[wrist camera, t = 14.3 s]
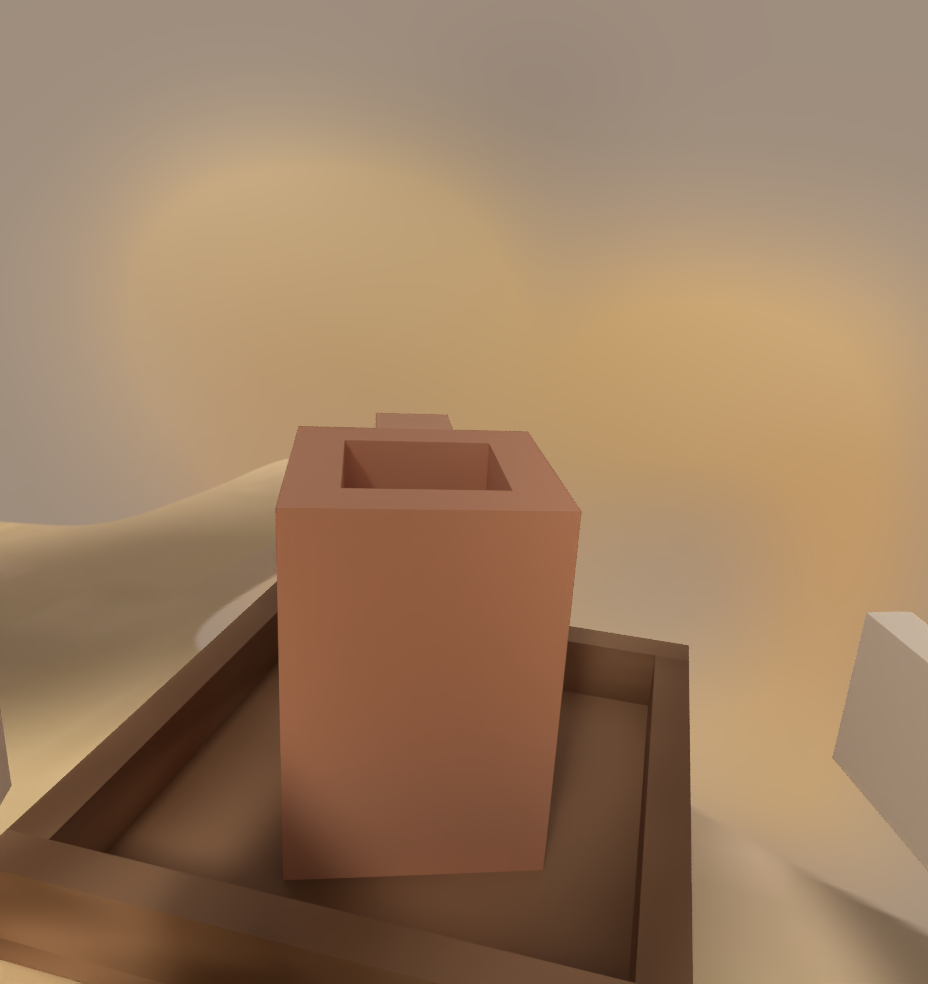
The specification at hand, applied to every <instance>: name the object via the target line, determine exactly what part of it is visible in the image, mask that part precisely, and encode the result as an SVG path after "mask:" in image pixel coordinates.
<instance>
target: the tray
mask: <svg viewBox="0 0 928 984" xmlns="http://www.w3.org/2000/svg"><path fill="white" fill-rule="evenodd" d="M0 959H1V960H4V961H8V962H11V963H15V964H18V965H22V966H25V967H29V968H32V969H36V970H39V971H43V972H47V973H50V974H54V975H57V976H61V977H64V978H68V979H71V980H75V981H78V982H82V983H86V984H693V961H692V882H691V803H690V724H689V647H688V645H682V644H676V643H670V642H664V641H657V640H651V639H645V638H639V637H633V636H626V635H620V634H614V633H608V632H601V631H595V630H589V629H583V628H577V627H570V626H569V633H568V643H567V652H566V662H565V671H564V680H563V690H562V699H561V709H560V718H559V727H558V737H557V746H556V756H555V765H554V774H553V784H552V793H551V803H550V812H549V821H548V831H547V840H546V849H545V859H544V868H543V870H536V871H510V872H485V873H459V874H434V875H409V876H383V877H358V878H332V879H307V880H283V856H282V806H281V756H280V706H279V656H278V606H277V582H276V583H275V584H274V585H273V586H271V587H270V589H268V590H267V591H266V592H265V593H264V594H263V595H262V596H261V597H259V598H258V599H257V600H256V601H255V602H254V603H253V604H252V605H251V606H250V607H249V608H248V609H246V610H245V611H244V612H243V613H242V614H241V615H240V616H239V617H238V618H237V619H236V620H234V621H233V622H232V623H231V624H230V625H229V626H228V627H227V628H226V629H225V630H224V631H222V632H221V633H220V634H219V635H218V636H217V637H216V638H215V639H214V640H213V641H212V642H210V643H209V644H208V645H207V646H206V647H205V648H204V649H203V650H202V651H201V652H200V653H198V654H197V655H196V656H195V657H194V658H193V659H192V660H191V661H190V662H189V663H188V664H187V665H185V666H184V667H183V668H182V669H181V670H180V671H179V672H178V673H177V674H176V675H175V676H173V677H172V678H171V679H170V680H169V681H168V682H167V683H166V684H165V685H164V686H163V687H161V688H160V689H159V690H158V691H157V692H156V693H155V694H154V695H153V696H152V697H151V698H149V699H148V700H147V701H146V702H145V703H144V704H143V705H142V706H141V707H140V708H139V709H138V710H136V711H135V712H134V713H133V714H132V715H131V716H130V717H129V718H128V719H127V720H126V721H124V722H123V723H122V724H121V725H120V726H119V727H118V728H117V729H116V730H115V731H114V732H112V733H111V734H110V735H109V736H108V737H107V738H106V739H105V740H104V741H103V742H102V743H101V744H99V745H98V746H97V747H96V748H95V749H94V750H93V751H92V752H91V753H90V754H89V755H87V756H86V757H85V758H84V759H83V760H82V761H81V762H80V763H79V764H78V765H77V766H75V767H74V768H73V769H72V770H71V771H70V772H69V773H68V774H67V775H66V776H65V777H63V778H62V779H61V780H60V781H59V782H58V783H57V784H56V785H55V786H54V787H53V788H52V789H50V790H49V791H48V792H47V793H46V794H45V795H44V796H43V797H42V798H41V799H40V800H38V801H37V802H36V803H35V804H34V805H33V806H32V807H31V808H30V809H29V810H28V811H26V812H25V813H24V814H23V815H22V816H21V817H20V818H19V819H18V820H17V821H16V822H15V823H13V824H12V825H11V826H10V827H9V828H8V829H7V830H6V831H5V832H4V833H3V834H1V835H0Z"/></svg>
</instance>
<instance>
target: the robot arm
mask: <svg viewBox="0 0 928 984" xmlns="http://www.w3.org/2000/svg"><path fill="white" fill-rule="evenodd" d="M833 759H834V760H835V761H836V763H837V764H838V765H839V766H840V767H841V769H842V770H843V771H844V772H845V773H846V774H847V776H848V777H849V778H850V779H851V780H852V781H853V783H854V784H855V785H856V786H857V788H858V789H859V790H860V791H861V792H862V793H863V795H864V796H865V797H866V798H867V799H868V801H869V802H870V803H871V804H872V805H873V806H874V807H875V809H876V810H877V811H878V812H879V814H880V815H881V816H882V817H883V818H884V819H885V820H886V822H887V823H888V824H889V825H890V826H891V828H892V829H893V830H894V831H895V833H896V834H897V835H898V836H899V837H900V838H901V840H902V841H903V842H904V843H905V844H906V846H907V847H908V848H909V849H910V850H911V851H912V852H913V854H914V855H915V856H916V857H917V858H918V860H919V861H920V862H921V863H922V864H923V866H924V867H925V868H926V869H927V870H928V624H926V623H925V622H924V621H922V620H921V619H920V618H918V617H917V616H916V615H914V614H913V613H912V612H867V613H866V617H865V620H864V625H863V629H862V633H861V638H860V642H859V646H858V650H857V655H856V659H855V664H854V668H853V672H852V677H851V681H850V685H849V689H848V693H847V698H846V702H845V706H844V711H843V715H842V719H841V724H840V728H839V732H838V736H837V741H836V745H835V750H834V754H833ZM10 787H11V780H10V773H9V766H8V759H7V752H6V745H5V738H4V732H3V725H2V718H1V711H0V805H1V803H2V801H3V799H4V798H5V796H6V794H7V792H8V791H9V789H10Z"/></svg>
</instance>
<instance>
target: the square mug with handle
mask: <svg viewBox="0 0 928 984" xmlns="http://www.w3.org/2000/svg"><path fill="white" fill-rule="evenodd" d="M580 521H581V510H580V509H579V507H578V506H577V504H576V503H575V501H574V500H573V498H572V497H571V495H570V494H569V492H568V491H567V489H566V488H565V487H564V485H563V483H562V482H561V480H560V479H559V478H558V476H557V474H556V473H555V471H554V470H553V469H552V467H551V465H550V464H549V462H548V461H547V460H546V458H545V457H544V455H543V454H542V452H541V451H540V449H539V448H538V446H537V445H536V443H535V442H534V440H533V439H532V437H531V436H530V434H529V433H528V432H521V431H479V430H478V431H477V430H453V429H452V426H451V423H450V420H449V417H448V415H434V414H395V413H376V428H354V427H313V426H311V427H310V426H299V427H298V430H297V434H296V437H295V441H294V445H293V448H292V451H291V455H290V458H289V462H288V465H287V469H286V473H285V476H284V480H283V483H282V487H281V490H280V494H279V497H278V501H277V504H276V556H277V606H278V656H279V706H280V756H281V806H282V856H283V880H307V879H332V878H358V877H383V876H409V875H434V874H459V873H485V872H510V871H536V870H543V868H544V859H545V849H546V840H547V831H548V821H549V812H550V803H551V793H552V784H553V774H554V765H555V756H556V746H557V737H558V727H559V718H560V709H561V699H562V690H563V680H564V671H565V662H566V652H567V643H568V633H569V624H570V614H571V605H572V596H573V586H574V577H575V567H576V558H577V548H578V539H579V530H580Z"/></svg>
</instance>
